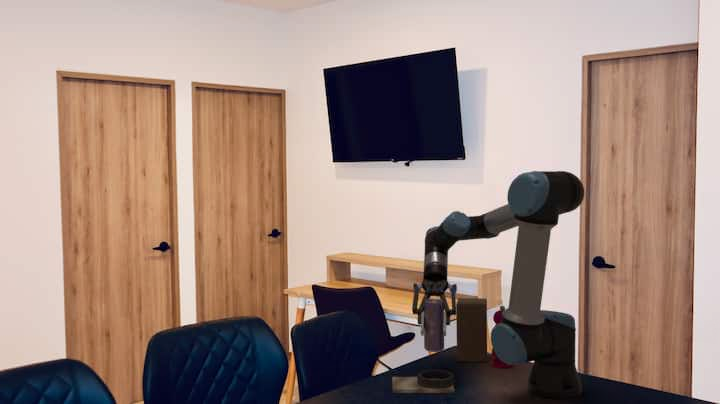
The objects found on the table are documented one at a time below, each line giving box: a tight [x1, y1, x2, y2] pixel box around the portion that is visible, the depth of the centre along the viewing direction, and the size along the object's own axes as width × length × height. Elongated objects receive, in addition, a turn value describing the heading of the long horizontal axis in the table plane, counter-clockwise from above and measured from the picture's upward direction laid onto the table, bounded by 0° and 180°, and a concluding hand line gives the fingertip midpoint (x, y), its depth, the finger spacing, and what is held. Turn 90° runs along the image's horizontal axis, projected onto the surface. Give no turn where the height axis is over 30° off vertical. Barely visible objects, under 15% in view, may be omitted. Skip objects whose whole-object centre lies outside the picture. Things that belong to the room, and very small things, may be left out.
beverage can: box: [423, 298, 445, 353], centre depth 203 cm, size 6×6×15 cm
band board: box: [391, 369, 455, 394], centre depth 203 cm, size 18×12×3 cm, turn 88°
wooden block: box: [455, 297, 488, 363], centre depth 232 cm, size 10×10×20 cm
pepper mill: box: [491, 305, 513, 369], centre depth 223 cm, size 7×7×20 cm
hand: (433, 333), depth 199 cm, fingers closed on beverage can, 6 cm apart
